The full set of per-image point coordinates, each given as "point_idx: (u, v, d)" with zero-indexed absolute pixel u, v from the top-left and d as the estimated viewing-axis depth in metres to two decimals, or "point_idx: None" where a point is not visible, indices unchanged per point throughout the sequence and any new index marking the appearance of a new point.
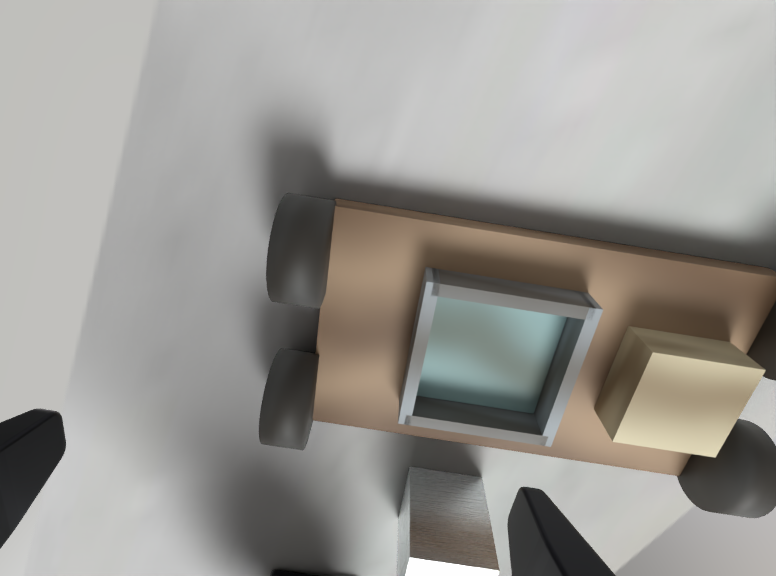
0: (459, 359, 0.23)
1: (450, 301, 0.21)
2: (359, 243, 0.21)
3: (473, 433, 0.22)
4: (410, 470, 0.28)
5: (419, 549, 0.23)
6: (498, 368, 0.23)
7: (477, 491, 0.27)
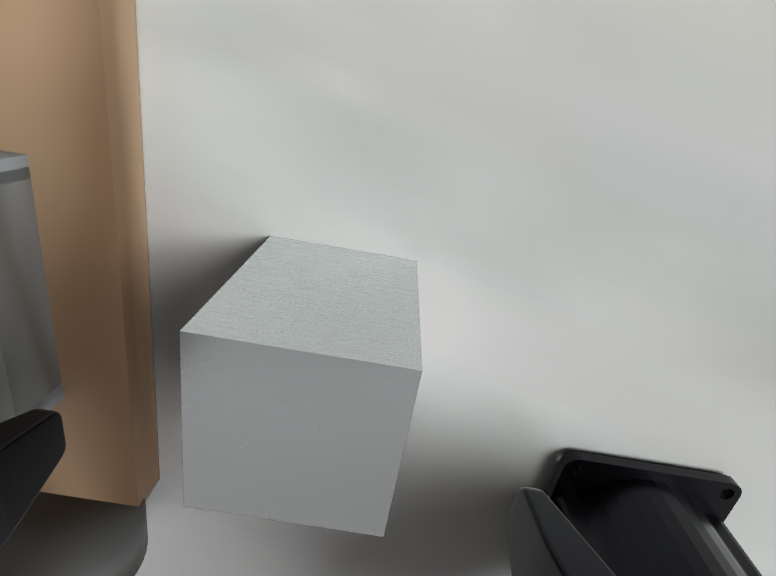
0: None
1: None
2: None
3: None
4: None
5: None
6: None
7: None
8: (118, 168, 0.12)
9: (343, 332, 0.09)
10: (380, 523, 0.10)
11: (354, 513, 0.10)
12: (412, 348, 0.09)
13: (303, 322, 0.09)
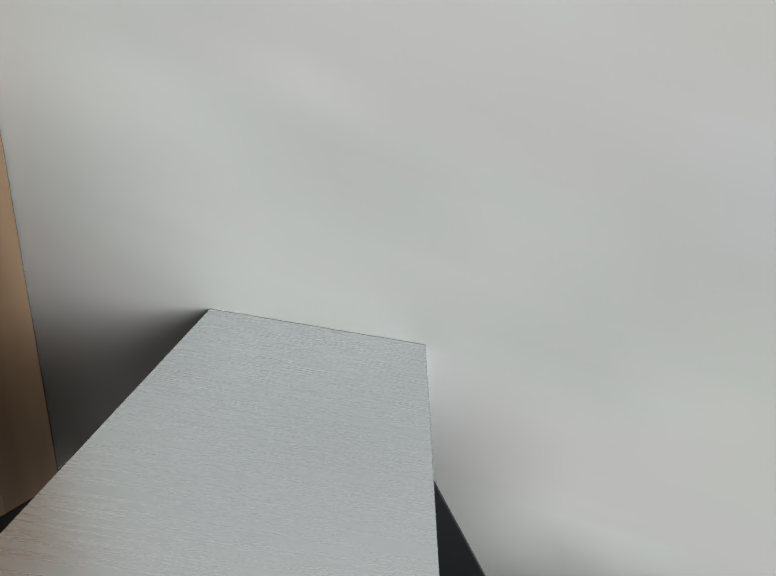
0: None
1: None
2: None
3: None
4: None
5: None
6: None
7: None
8: None
9: (290, 567, 0.05)
10: None
11: None
12: None
13: (212, 544, 0.05)
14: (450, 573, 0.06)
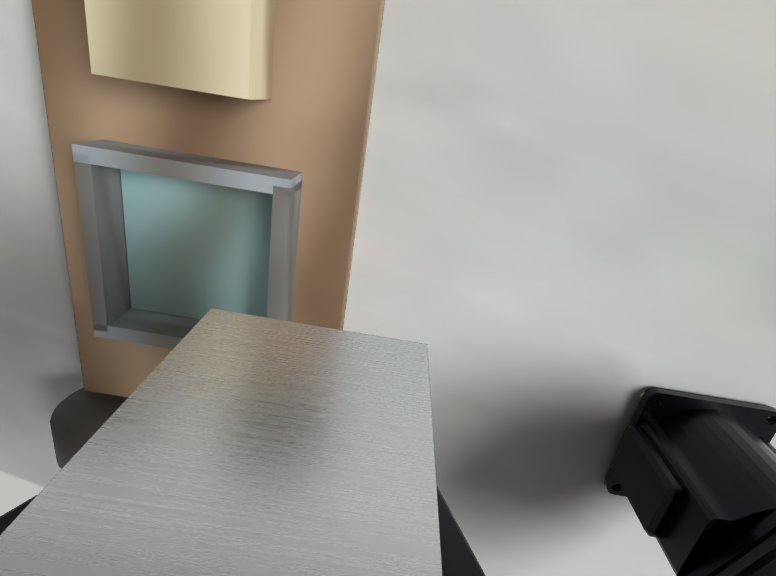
0: (217, 282, 0.19)
1: (148, 294, 0.20)
2: (112, 373, 0.22)
3: (281, 282, 0.17)
4: None
5: None
6: (222, 238, 0.18)
7: None
8: (358, 180, 0.18)
9: (292, 567, 0.05)
10: None
11: None
12: None
13: (213, 545, 0.05)
14: (450, 573, 0.06)
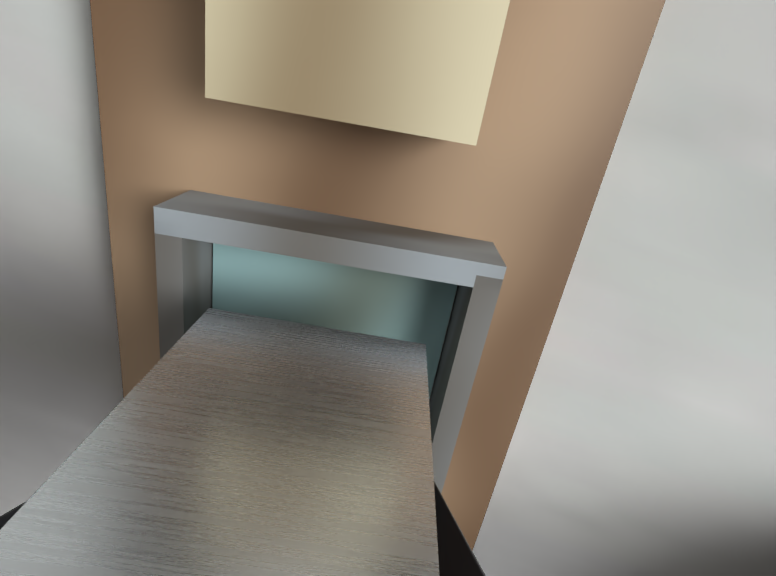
0: None
1: None
2: None
3: (461, 410, 0.11)
4: None
5: None
6: (357, 332, 0.12)
7: None
8: None
9: (288, 567, 0.05)
10: None
11: None
12: None
13: (209, 545, 0.05)
14: (450, 573, 0.06)
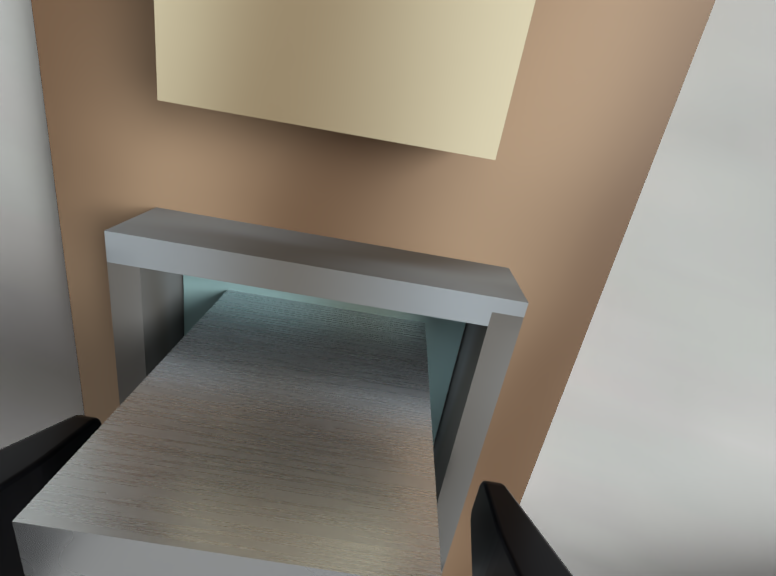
0: None
1: None
2: None
3: (472, 464, 0.10)
4: None
5: None
6: None
7: None
8: None
9: (309, 491, 0.06)
10: None
11: None
12: (423, 523, 0.05)
13: (244, 474, 0.06)
14: None
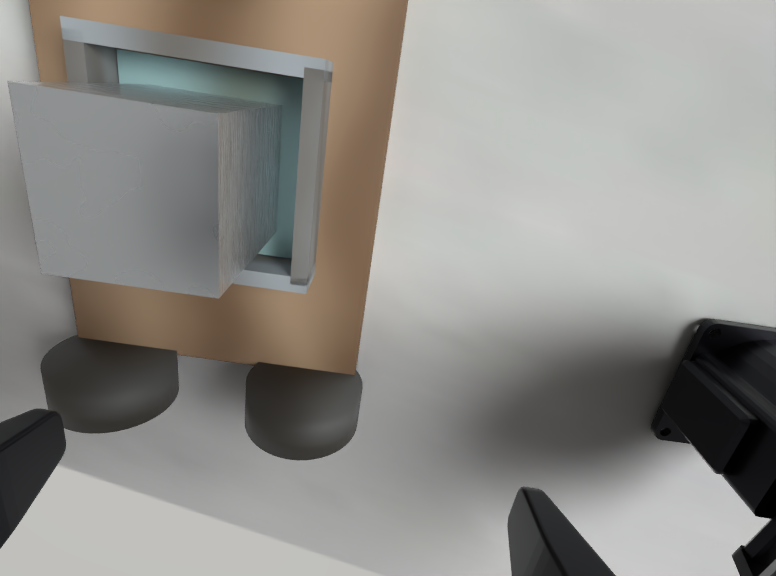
0: None
1: None
2: (110, 315, 0.19)
3: (311, 190, 0.15)
4: None
5: None
6: None
7: None
8: (397, 73, 0.15)
9: (164, 101, 0.11)
10: (213, 283, 0.12)
11: (189, 273, 0.11)
12: (221, 110, 0.11)
13: (130, 95, 0.11)
14: None
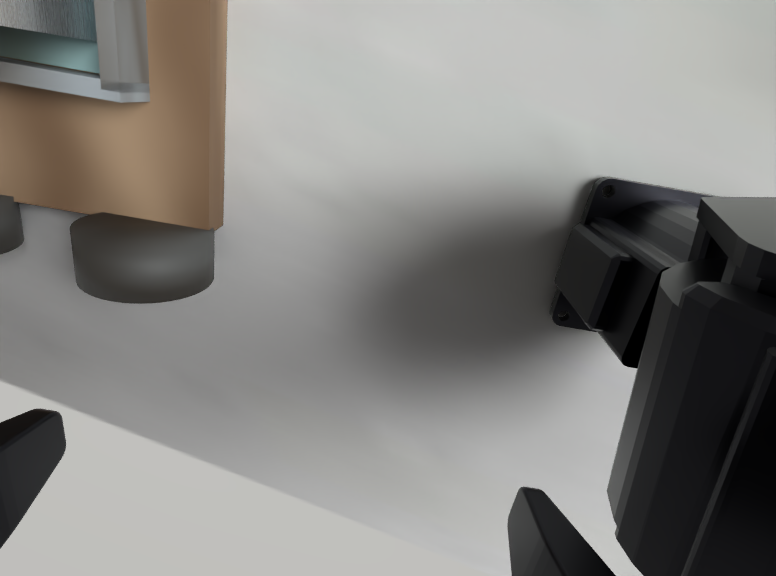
0: None
1: None
2: None
3: None
4: None
5: None
6: None
7: None
8: None
9: None
10: None
11: None
12: None
13: None
14: None
